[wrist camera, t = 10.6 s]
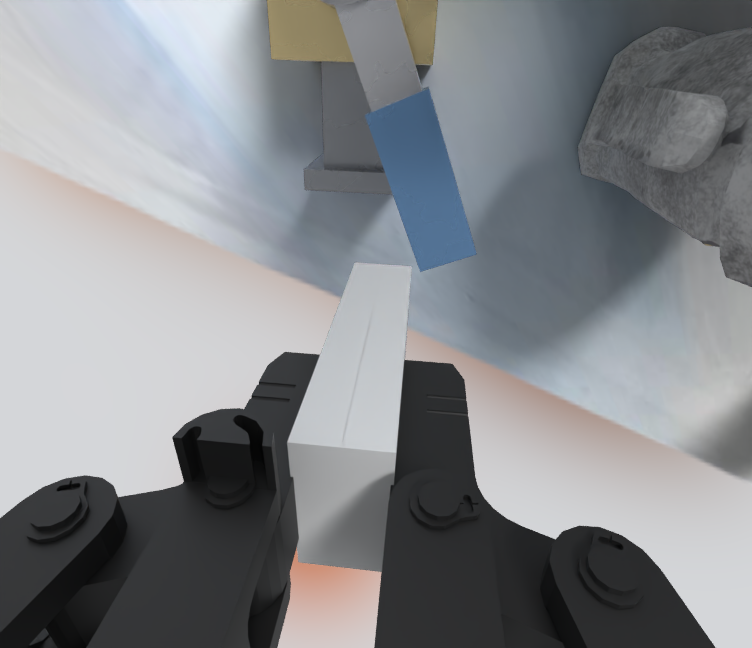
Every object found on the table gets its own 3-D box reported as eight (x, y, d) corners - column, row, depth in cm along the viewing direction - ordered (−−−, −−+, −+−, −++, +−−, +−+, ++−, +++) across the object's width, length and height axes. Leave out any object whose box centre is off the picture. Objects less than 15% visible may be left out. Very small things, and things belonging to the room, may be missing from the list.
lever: (272, -101, 19) (250, -126, 17) (383, -165, 18) (376, -201, 15) (404, 258, 26) (402, 277, 24) (489, 230, 25) (496, 248, 23)
